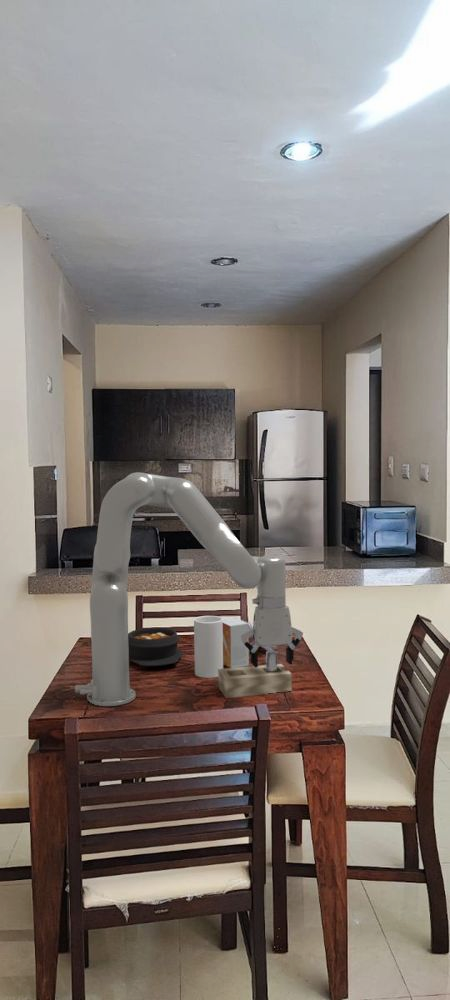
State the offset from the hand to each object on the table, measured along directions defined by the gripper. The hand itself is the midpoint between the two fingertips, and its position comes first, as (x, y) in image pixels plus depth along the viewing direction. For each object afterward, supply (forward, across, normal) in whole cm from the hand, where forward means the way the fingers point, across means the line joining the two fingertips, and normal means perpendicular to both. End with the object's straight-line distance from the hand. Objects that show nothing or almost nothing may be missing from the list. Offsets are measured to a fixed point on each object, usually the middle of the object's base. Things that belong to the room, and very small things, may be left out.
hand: (272, 664), depth 198 cm
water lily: (+7, +7, +34) cm, 35 cm away
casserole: (+7, -28, +35) cm, 45 cm away
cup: (+7, -14, +17) cm, 23 cm away
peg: (+6, 0, 0) cm, 7 cm away
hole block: (+6, -5, 0) cm, 8 cm away
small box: (+7, -5, +24) cm, 25 cm away
